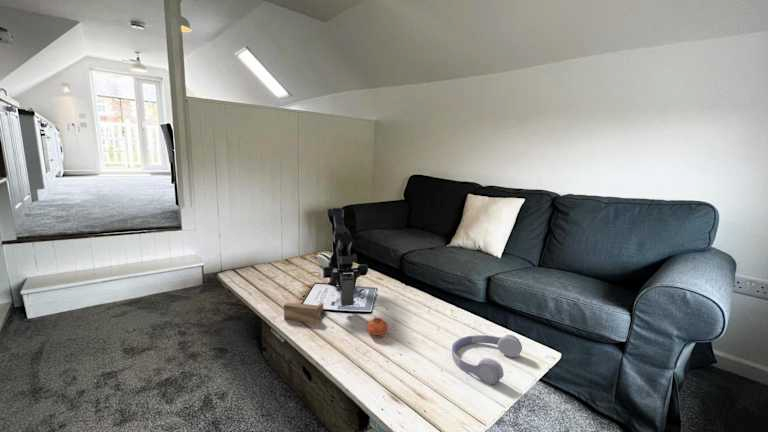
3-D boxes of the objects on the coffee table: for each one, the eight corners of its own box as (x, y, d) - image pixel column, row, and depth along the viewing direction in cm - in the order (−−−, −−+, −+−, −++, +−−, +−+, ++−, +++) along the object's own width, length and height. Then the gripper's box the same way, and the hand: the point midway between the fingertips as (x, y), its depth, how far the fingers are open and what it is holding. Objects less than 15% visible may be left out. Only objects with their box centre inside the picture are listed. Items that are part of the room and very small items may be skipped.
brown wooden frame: (296, 307, 148) (296, 294, 147) (327, 311, 146) (327, 297, 144) (284, 319, 138) (283, 305, 137) (316, 323, 135) (316, 309, 134)
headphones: (524, 356, 116) (469, 339, 129) (525, 337, 115) (469, 321, 128) (499, 390, 99) (439, 366, 112) (499, 367, 98) (439, 346, 111)
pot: (393, 334, 128) (391, 319, 125) (378, 345, 123) (375, 330, 121) (379, 325, 134) (377, 310, 131) (364, 335, 129) (361, 321, 127)
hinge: (340, 271, 195) (335, 256, 191) (333, 275, 193) (328, 260, 189) (326, 263, 208) (321, 249, 204) (319, 267, 206) (314, 253, 202)
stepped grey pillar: (340, 302, 144) (340, 273, 142) (352, 301, 146) (352, 273, 143) (342, 307, 140) (342, 278, 137) (354, 306, 141) (354, 277, 139)
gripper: (323, 248, 140) (325, 283, 132) (367, 246, 145) (373, 280, 137) (321, 260, 149) (324, 294, 141) (363, 258, 154) (368, 291, 146)
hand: (347, 290), depth 141 cm, fingers closed on stepped grey pillar, 5 cm apart
